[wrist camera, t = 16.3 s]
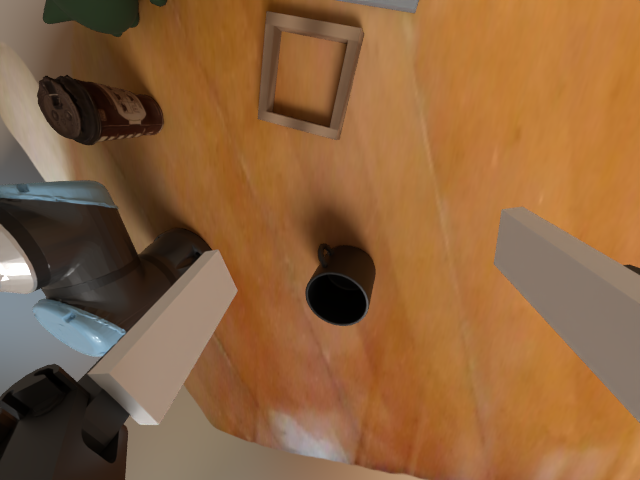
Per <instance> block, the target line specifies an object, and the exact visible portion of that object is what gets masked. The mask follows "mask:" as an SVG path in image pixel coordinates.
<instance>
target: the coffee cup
mask: <svg viewBox="0 0 640 480" xmlns="http://www.w3.org/2000/svg"><path fill="white" fill-rule="evenodd" d="M37 97H38V104H39V107H40V109H41V111H42V113H43V115H44V117H45V118H46V120H47V122H48V123H49V124H50V126H51V127H52V128H53V129H54V130H55V131H56V132H57V133H58V134H60V135H62V136H63V137H66V138H69V139H73V140H75V141H76V142H79V143H82V144H85V145H94V144H95V143H96V142H101V141H105V140H115V139H123V138H132V137H139V136H142V135H155V134H157V133H159V132H160V131H161V130H162V128H163V124H164V123H163V115H162V112H161V110H160V108H159V106H158V105H157V103H156V102H155V101H154V100H153V99H152V98H151V97H149V96H147V95H141V94H139V95H136V94H134V93H132V92H130V91H126V90H123V89H118V88H113V87H110V86H106V85H102V84H97V83H93V82H84V81H80V80H76V79H72V78H71V77H69V76H68V75H66V76H65V77H63V76H59V77H58V78H56V79H52V78H50V77H48V76H45V77H43V80H41V81H39V90H38V94H37Z"/></svg>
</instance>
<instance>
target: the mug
mask: <svg viewBox="0 0 640 480" xmlns="http://www.w3.org/2000/svg"><path fill="white" fill-rule="evenodd" d="M324 249H325V250H326V251H327V252H328V253H327V254H326V255H325V257H324V255H323V251H324ZM318 257H319V261H320V265H319V266H318V268H317V269H316V271H315V273H314V274H313V276H312V277H311V279H310V281H309V282H308V284H307V287H306V300H307V303H308V305H309V307H310V308H311V310H312V311H313V312H314V313H315V314H316V315H317V316H318V317H319V318H321V319H322V320H324V321H326V322H328V323H331V324H334V325H339V326H348V325H353V324H355V323H358V322H359V321H361V320H362V319H363V318H364V317H365V315H366V314H367V312H368V309H369V304H370V299H371V294H372V289H373V284H374V280H375V266H374V263H373V261H372V260H371V258H370V257H369V256H368V255H367V254H366V253H365V252H364V251H362V250H361V249H359V248H356V247H353V246H338V247H335V248H333V249H331V248H330V247H329V246H328V245H327V244H321V245H320V246H319V248H318Z"/></svg>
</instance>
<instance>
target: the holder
mask: <svg viewBox="0 0 640 480" xmlns="http://www.w3.org/2000/svg"><path fill="white" fill-rule="evenodd" d="M282 31H284V32H290V33H295V34H300V35H305V36H310V37H315V38H320V39H325V40H331V41H336V42H341V43H346V44H347V49H346V54H345V58H344V63H343V68H342V72H341V77H340V82H339V86H338V91H337V96H336V101H335V105H334V110H333V115H332V119H331V124H330V127H327V126H323V125H320V124H316V123H312V122H308V121H304V120H300V119H297V118H293V117H289V116H285V115H281V114H277V113H274V112H273V106H274V96H275V87H276V78H277V69H278V59H279V50H280V41H281V32H282ZM363 37H364V33H363V30H362V28H357V27H352V26H346V25H341V24H335V23H330V22H324V21H319V20H313V19H308V18H302V17H297V16H291V15H286V14H280V13H275V12H269V11H267V12H266V25H265V37H264V49H263V61H262V73H261V85H260V98H259V110H258V119H260V120H264V121H267V122H271V123H275V124H278V125H282V126H286V127H290V128H293V129H297V130H301V131H304V132H308V133H312V134H316V135H319V136H323V137H327V138H330V139H334V140H338V139H340V134H341V130H342V126H343V122H344V118H345V113H346V109H347V105H348V101H349V96H350V92H351V88H352V84H353V79H354V75H355V71H356V67H357V62H358V58H359V54H360V50H361V45H362V41H363Z"/></svg>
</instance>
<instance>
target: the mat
mask: <svg viewBox="0 0 640 480" xmlns="http://www.w3.org/2000/svg"><path fill="white" fill-rule="evenodd" d="M337 1H344V2H350V3H356V4H362V5H368V6H374V7H380V8H386V9H392V10H399V11H405V12H411V13H415V12H416V8H417V5H418V2H419V0H337Z"/></svg>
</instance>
